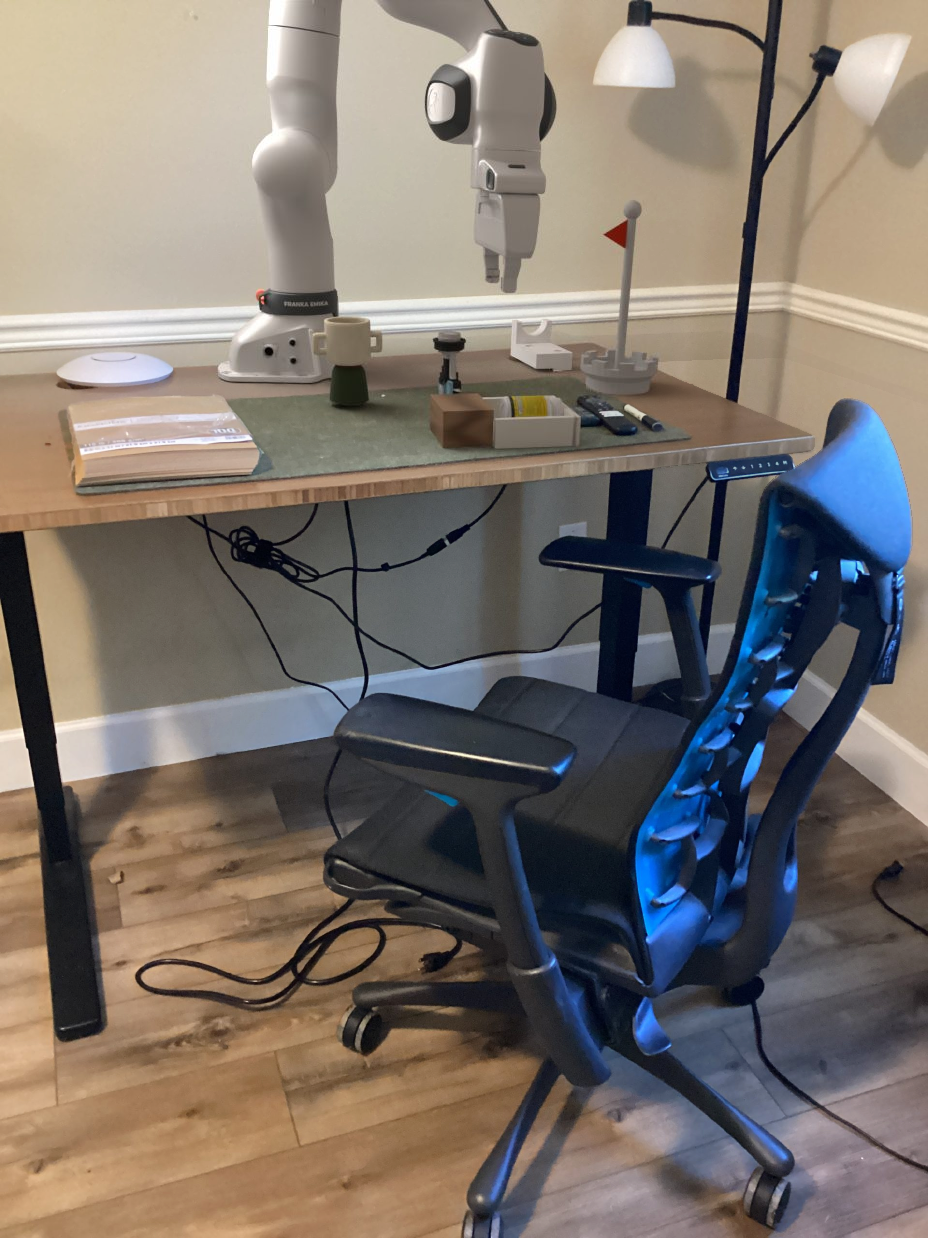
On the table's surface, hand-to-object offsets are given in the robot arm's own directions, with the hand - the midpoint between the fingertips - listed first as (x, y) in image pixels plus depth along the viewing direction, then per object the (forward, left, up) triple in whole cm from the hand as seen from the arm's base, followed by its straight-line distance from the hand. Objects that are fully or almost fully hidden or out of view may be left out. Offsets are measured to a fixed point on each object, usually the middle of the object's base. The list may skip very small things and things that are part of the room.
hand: (499, 287), depth 136 cm
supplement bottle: (+1, 0, -17) cm, 17 cm away
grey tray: (+5, 0, -20) cm, 21 cm away
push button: (-1, +25, -21) cm, 32 cm away
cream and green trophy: (-18, +21, -21) cm, 35 cm away
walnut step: (-5, 0, -20) cm, 21 cm away
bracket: (+21, +48, -21) cm, 57 cm away
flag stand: (+29, +28, -21) cm, 45 cm away
